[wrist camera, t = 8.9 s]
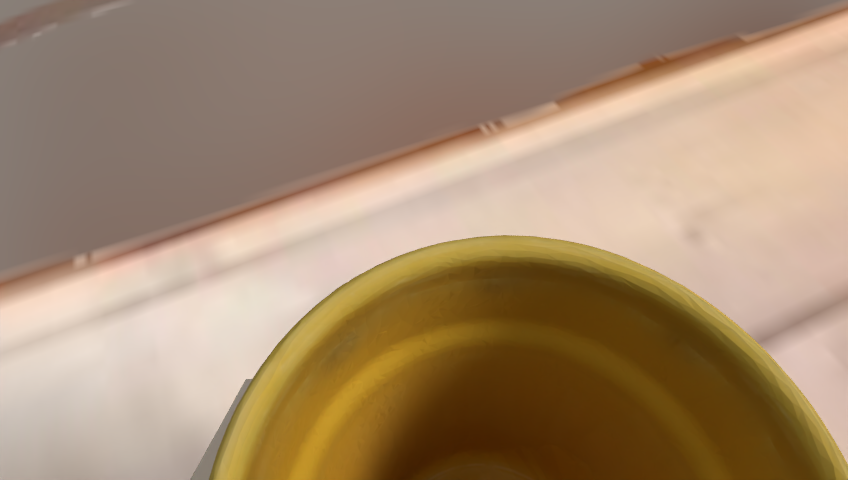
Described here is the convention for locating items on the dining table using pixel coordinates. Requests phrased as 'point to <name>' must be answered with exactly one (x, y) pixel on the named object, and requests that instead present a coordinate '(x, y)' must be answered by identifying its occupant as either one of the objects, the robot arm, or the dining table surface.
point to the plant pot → (521, 379)
